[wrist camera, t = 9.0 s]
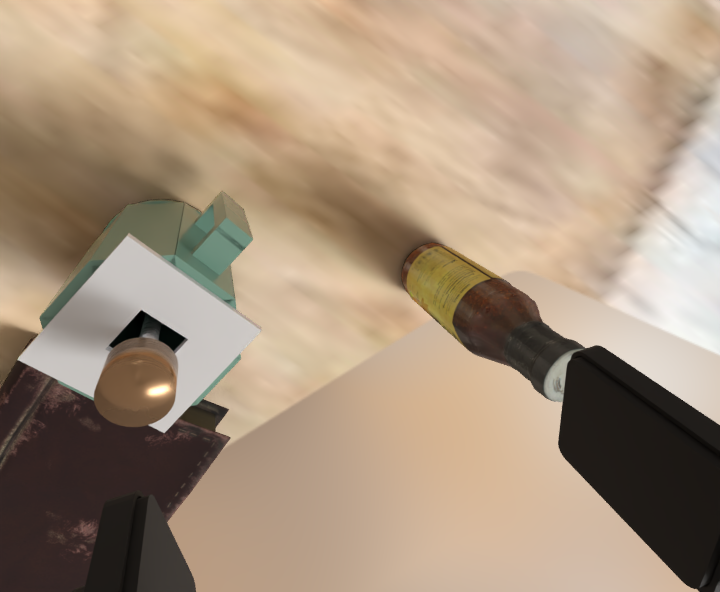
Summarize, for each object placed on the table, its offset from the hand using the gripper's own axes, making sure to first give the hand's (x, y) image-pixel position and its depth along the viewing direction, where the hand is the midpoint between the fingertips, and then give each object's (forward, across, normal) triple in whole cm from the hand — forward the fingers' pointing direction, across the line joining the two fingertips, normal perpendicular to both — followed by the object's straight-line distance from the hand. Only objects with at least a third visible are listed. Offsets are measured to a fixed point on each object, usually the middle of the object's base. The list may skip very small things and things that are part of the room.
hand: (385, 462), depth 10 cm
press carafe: (+32, +7, +4) cm, 33 cm away
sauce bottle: (+32, -15, +12) cm, 37 cm away
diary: (+32, +22, +24) cm, 46 cm away
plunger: (+28, +8, +5) cm, 29 cm away
